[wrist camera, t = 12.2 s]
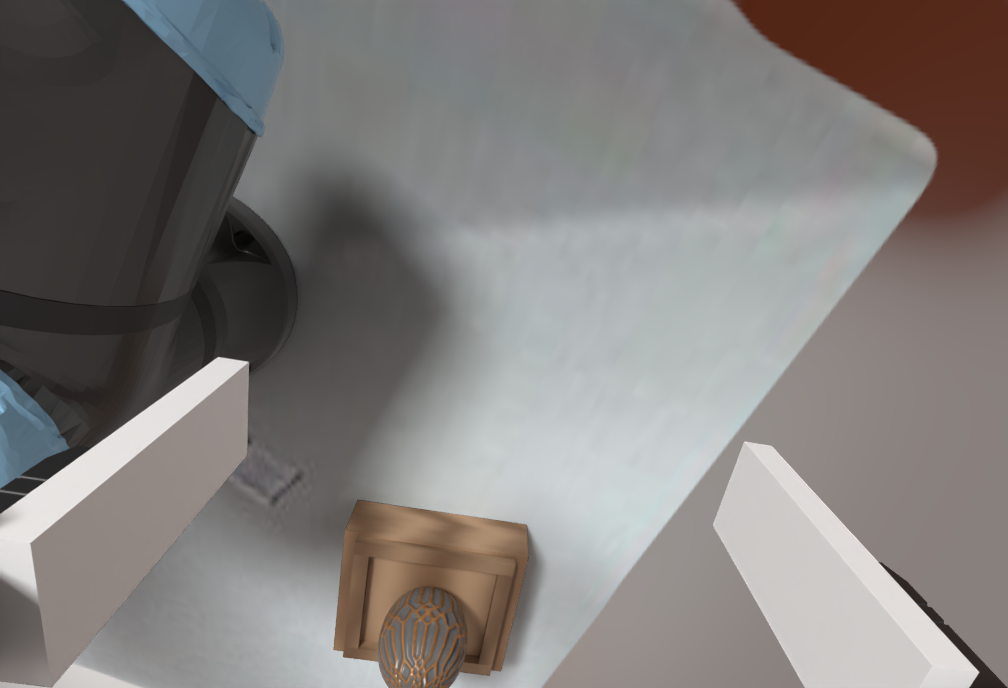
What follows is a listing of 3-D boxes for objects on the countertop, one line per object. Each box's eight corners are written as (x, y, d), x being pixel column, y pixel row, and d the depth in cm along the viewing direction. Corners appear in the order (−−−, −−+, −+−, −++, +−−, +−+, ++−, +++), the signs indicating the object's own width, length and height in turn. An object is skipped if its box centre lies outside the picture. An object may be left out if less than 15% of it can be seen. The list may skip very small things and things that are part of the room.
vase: (486, 599, 45) (483, 700, 37) (437, 647, 47) (423, 752, 39) (420, 558, 44) (401, 653, 35) (372, 608, 45) (343, 710, 37)
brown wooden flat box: (345, 613, 51) (330, 658, 46) (357, 499, 46) (341, 537, 42) (501, 633, 52) (500, 679, 47) (526, 524, 47) (529, 563, 43)
